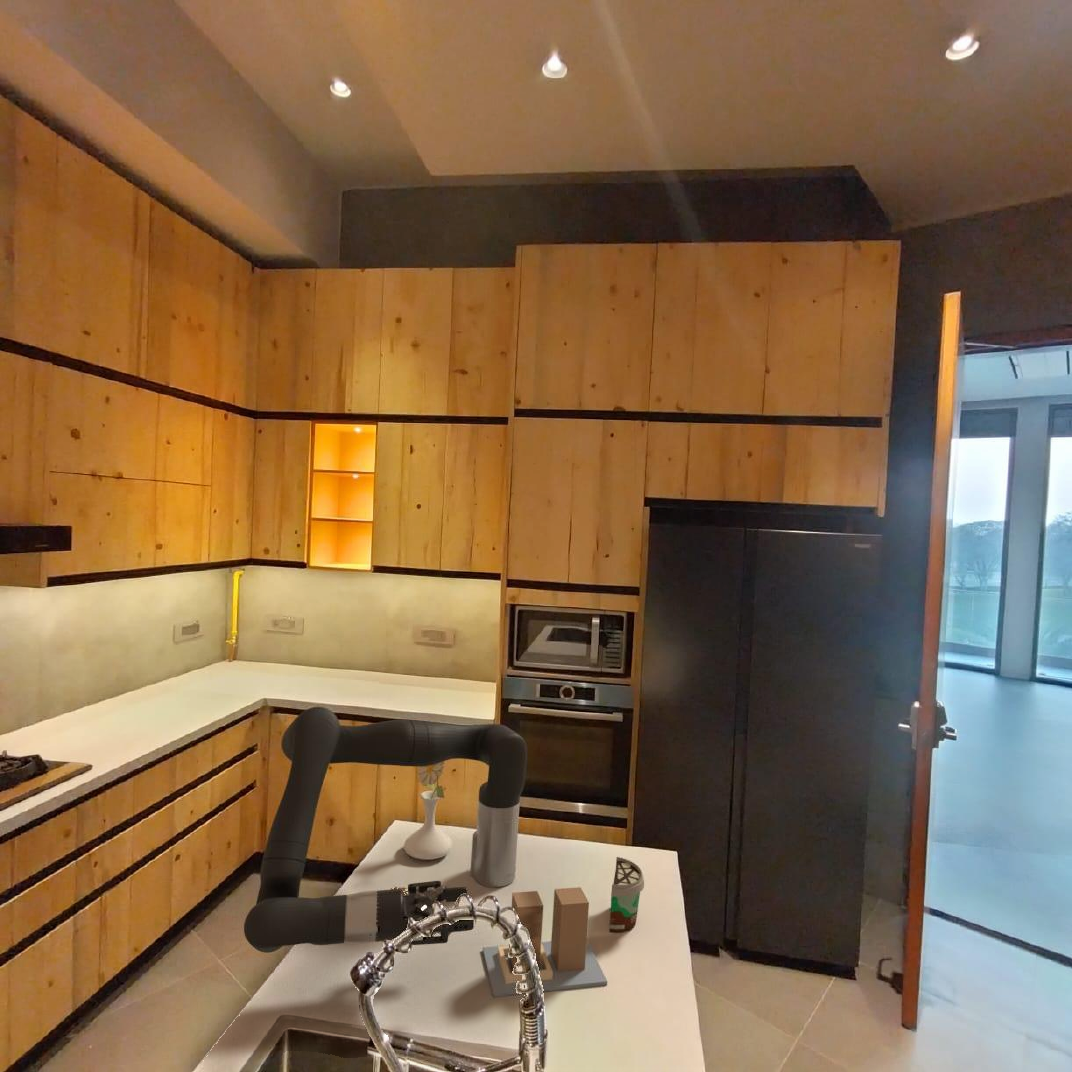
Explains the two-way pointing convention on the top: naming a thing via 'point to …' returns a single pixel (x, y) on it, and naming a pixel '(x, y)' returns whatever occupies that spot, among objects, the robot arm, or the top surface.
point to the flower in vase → (429, 819)
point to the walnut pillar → (529, 919)
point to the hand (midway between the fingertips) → (469, 907)
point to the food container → (625, 896)
